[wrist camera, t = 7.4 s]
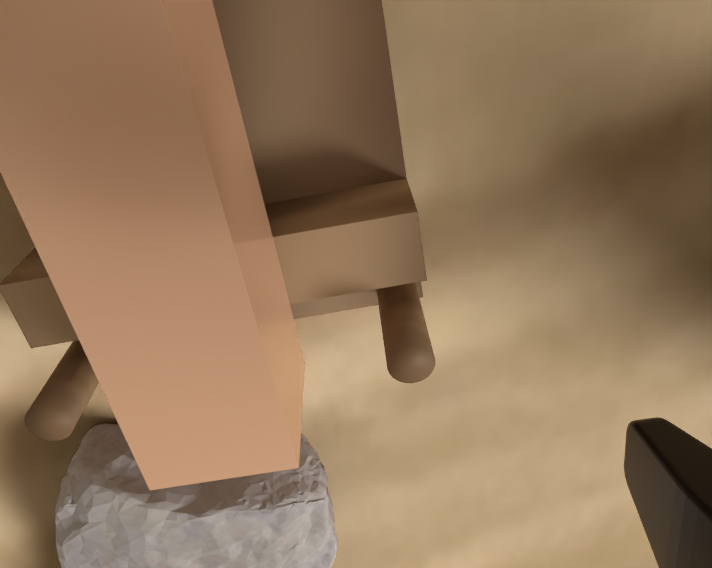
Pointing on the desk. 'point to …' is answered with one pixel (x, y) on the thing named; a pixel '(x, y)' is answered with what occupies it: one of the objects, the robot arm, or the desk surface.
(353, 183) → the rack
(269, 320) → the clay bar
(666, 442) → the robot arm
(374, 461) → the desk surface
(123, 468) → the stone block
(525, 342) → the desk surface
